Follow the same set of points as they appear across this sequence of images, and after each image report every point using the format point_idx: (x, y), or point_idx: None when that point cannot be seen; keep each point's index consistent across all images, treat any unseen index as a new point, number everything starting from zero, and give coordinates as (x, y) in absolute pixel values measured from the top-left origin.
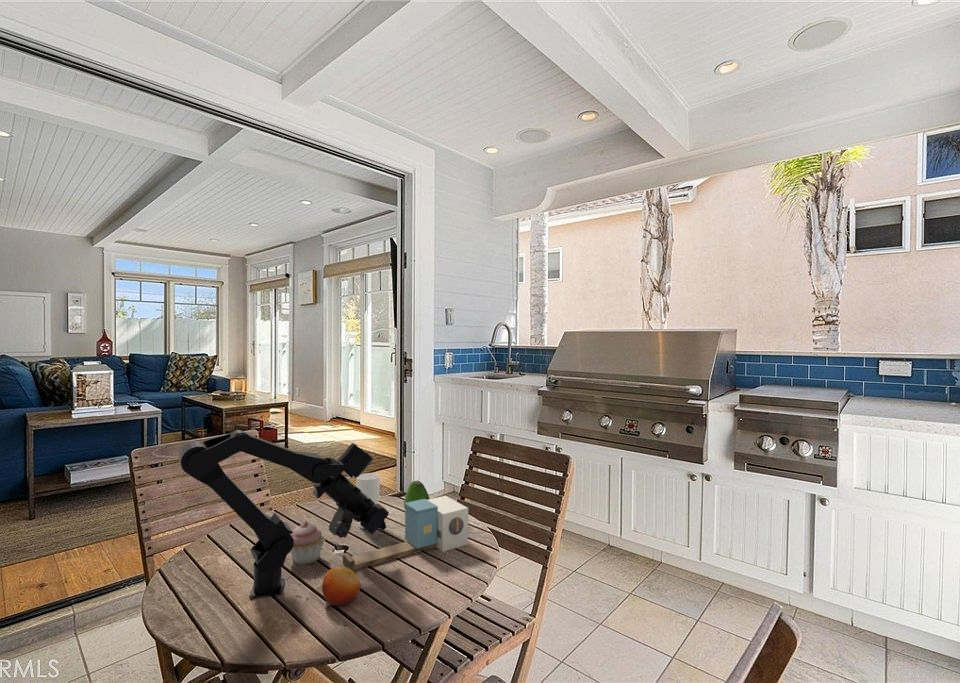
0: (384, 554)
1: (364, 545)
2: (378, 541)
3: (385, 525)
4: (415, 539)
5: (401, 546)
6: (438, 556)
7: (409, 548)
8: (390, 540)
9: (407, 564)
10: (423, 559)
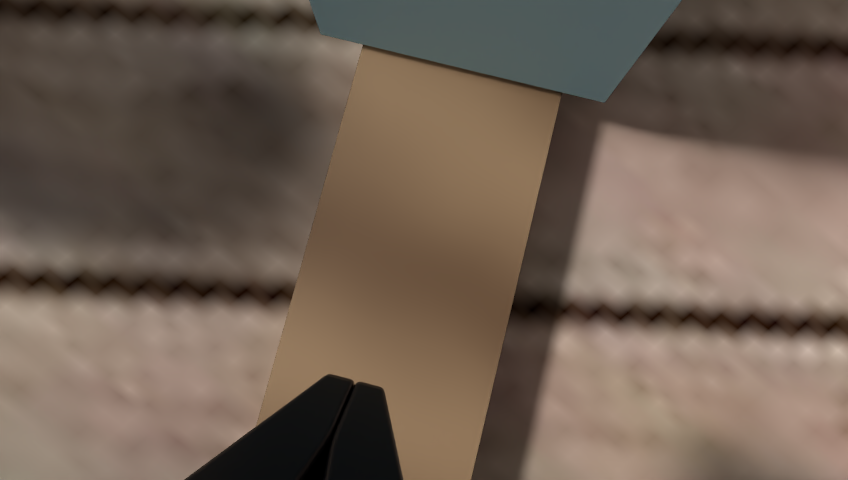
0: (427, 415)
1: (3, 348)
2: (48, 187)
3: (387, 418)
4: (588, 59)
5: (413, 163)
6: (773, 16)
7: (518, 139)
8: (131, 90)
9: (688, 325)
10: (718, 151)
